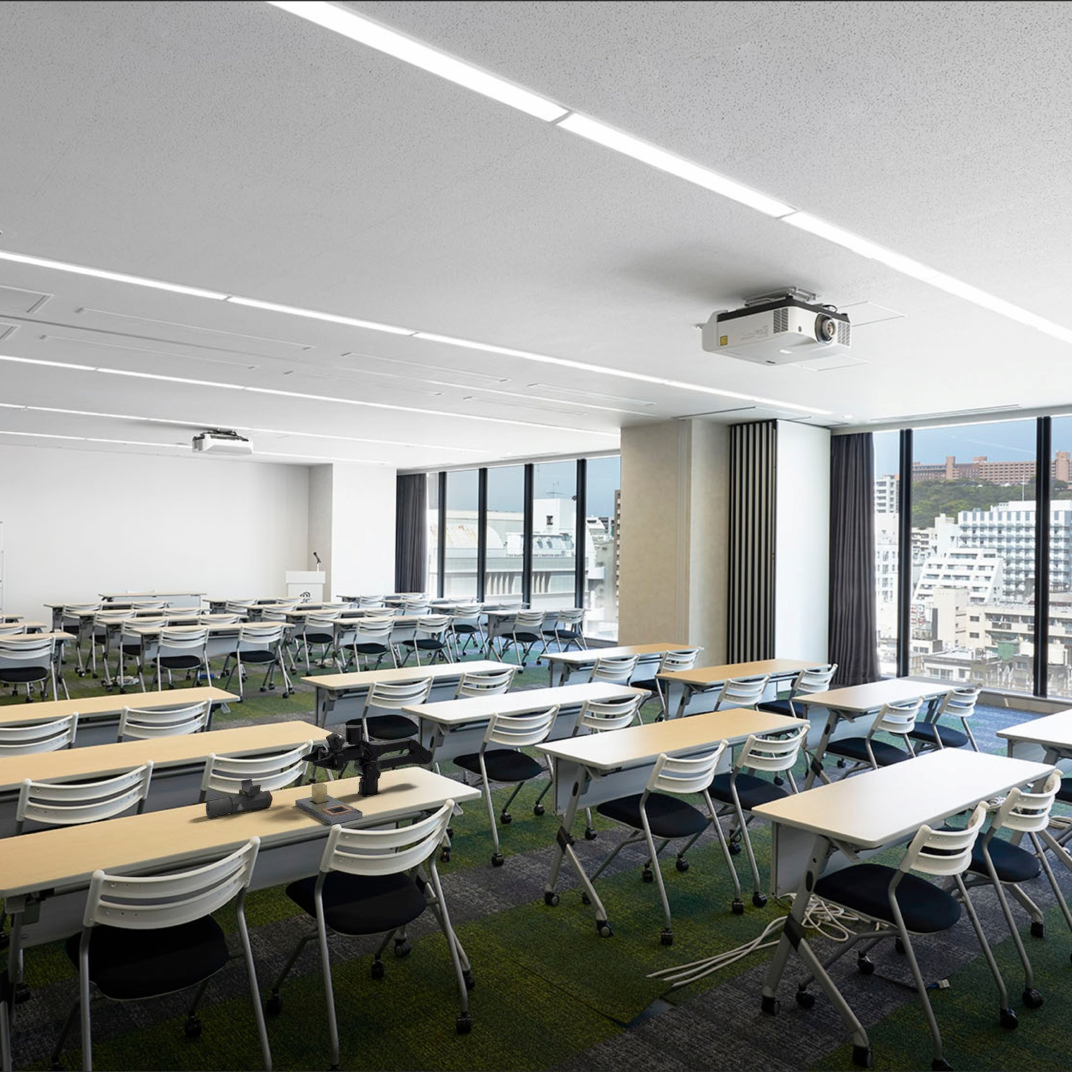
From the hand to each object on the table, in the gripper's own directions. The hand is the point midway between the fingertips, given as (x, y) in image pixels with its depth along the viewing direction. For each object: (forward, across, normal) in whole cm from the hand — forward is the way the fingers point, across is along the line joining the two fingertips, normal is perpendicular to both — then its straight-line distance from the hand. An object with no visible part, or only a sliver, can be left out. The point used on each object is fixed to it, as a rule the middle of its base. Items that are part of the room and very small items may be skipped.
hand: (307, 761), depth 308 cm
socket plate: (-3, +10, +16) cm, 20 cm away
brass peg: (-3, +3, +17) cm, 17 cm away
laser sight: (+21, -10, +17) cm, 29 cm away
